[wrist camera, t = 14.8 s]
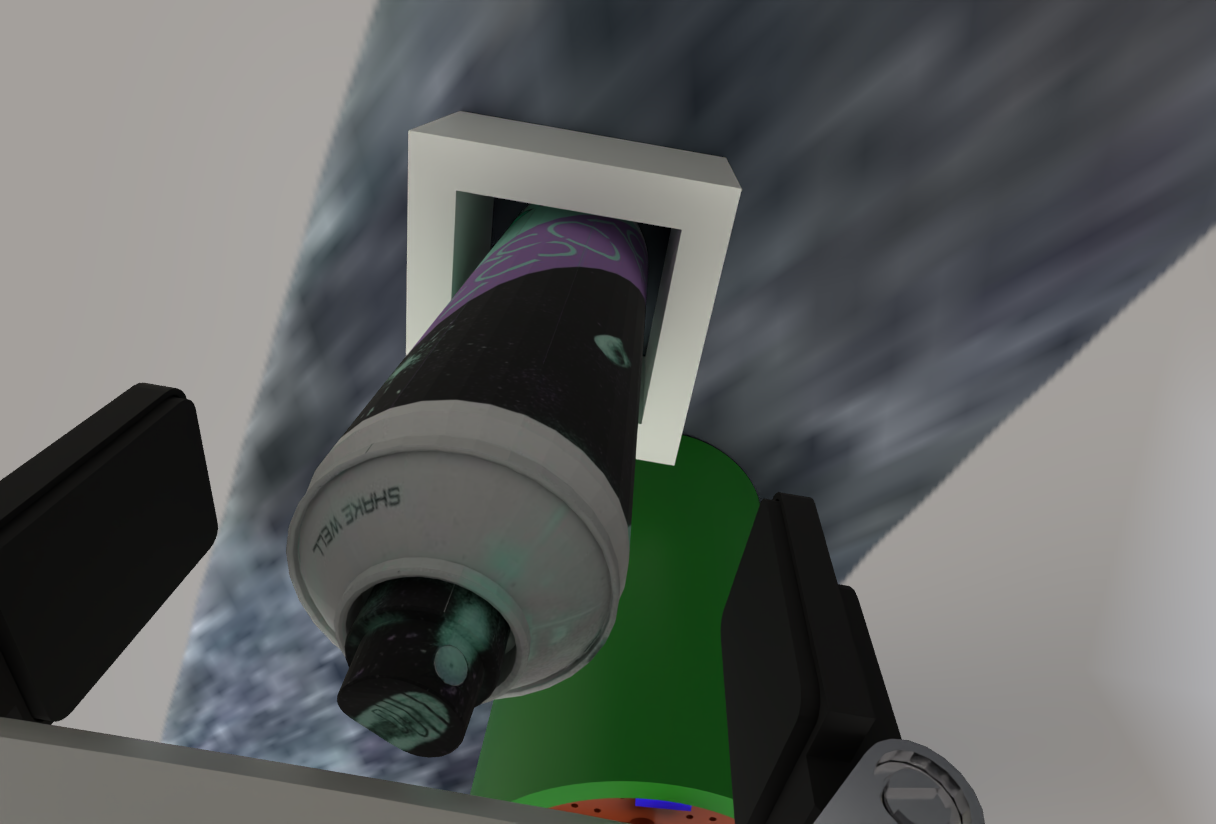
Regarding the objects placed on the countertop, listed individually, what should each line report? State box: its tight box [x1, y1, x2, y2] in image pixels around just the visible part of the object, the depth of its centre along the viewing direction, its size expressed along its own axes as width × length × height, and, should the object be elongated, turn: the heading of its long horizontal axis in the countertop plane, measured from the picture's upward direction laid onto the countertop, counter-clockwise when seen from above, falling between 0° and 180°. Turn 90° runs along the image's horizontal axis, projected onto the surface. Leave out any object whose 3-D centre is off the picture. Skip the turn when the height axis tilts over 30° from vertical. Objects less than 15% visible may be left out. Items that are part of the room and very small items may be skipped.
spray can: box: [286, 204, 648, 757], centre depth 17 cm, size 6×6×20 cm
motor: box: [470, 435, 760, 824], centre depth 23 cm, size 10×9×20 cm
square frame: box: [406, 111, 742, 466], centre depth 24 cm, size 9×9×6 cm
